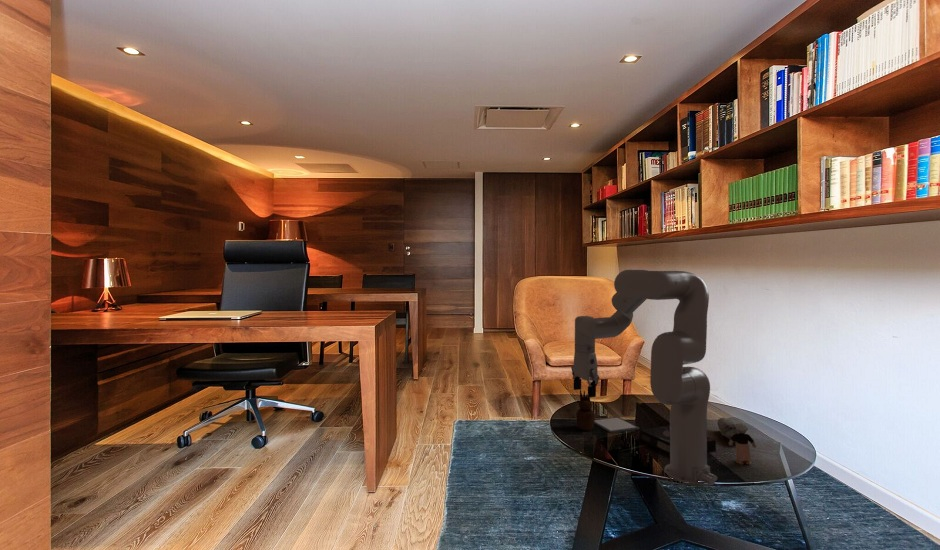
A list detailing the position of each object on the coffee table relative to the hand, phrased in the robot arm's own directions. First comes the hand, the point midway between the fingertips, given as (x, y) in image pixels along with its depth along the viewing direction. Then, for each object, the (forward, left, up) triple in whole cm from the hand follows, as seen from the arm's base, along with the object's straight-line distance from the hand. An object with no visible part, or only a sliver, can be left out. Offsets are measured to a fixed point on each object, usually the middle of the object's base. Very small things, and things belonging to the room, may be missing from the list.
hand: (584, 393), depth 159 cm
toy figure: (-40, -30, -14) cm, 52 cm away
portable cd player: (-23, -21, -14) cm, 35 cm away
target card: (0, -13, -14) cm, 19 cm away
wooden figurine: (0, 0, -14) cm, 14 cm away
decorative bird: (-25, -44, -14) cm, 52 cm away
